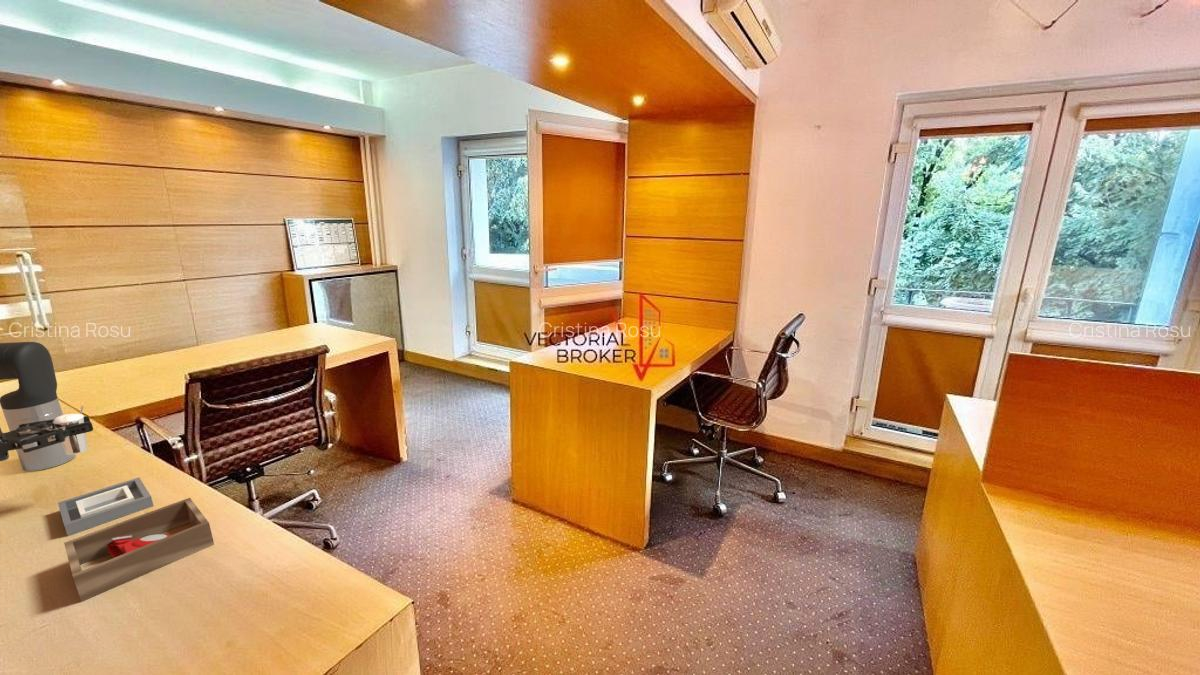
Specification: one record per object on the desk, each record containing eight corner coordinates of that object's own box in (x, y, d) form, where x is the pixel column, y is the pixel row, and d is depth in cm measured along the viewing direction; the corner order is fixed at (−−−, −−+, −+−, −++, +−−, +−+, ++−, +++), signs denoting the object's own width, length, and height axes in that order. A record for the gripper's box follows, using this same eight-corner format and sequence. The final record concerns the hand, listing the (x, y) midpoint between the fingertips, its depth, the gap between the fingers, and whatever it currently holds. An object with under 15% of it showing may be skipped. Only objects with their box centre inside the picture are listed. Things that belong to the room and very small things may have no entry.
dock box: (60, 512, 101) (57, 502, 101) (141, 486, 111) (139, 477, 111) (67, 536, 94) (64, 525, 93) (153, 505, 104) (150, 496, 103)
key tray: (71, 565, 86) (63, 542, 84) (194, 517, 100) (189, 497, 98) (81, 601, 78) (73, 577, 76) (214, 544, 91) (209, 522, 90)
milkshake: (101, 446, 107) (91, 406, 105) (73, 457, 102) (62, 415, 100) (85, 445, 107) (74, 405, 105) (56, 456, 102) (44, 414, 100)
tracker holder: (189, 527, 95) (168, 545, 86) (185, 549, 94) (164, 570, 85) (110, 530, 89) (79, 550, 80) (106, 553, 89) (75, 576, 80)
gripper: (-41, 443, 87) (90, 415, 100) (-38, 424, 95) (83, 400, 109) (-29, 478, 89) (99, 446, 102) (-27, 456, 97) (91, 429, 110)
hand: (90, 423), depth 105 cm, fingers closed on milkshake, 4 cm apart
